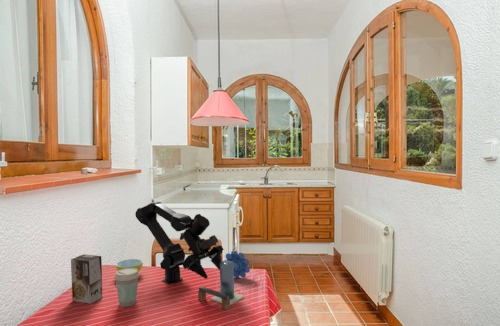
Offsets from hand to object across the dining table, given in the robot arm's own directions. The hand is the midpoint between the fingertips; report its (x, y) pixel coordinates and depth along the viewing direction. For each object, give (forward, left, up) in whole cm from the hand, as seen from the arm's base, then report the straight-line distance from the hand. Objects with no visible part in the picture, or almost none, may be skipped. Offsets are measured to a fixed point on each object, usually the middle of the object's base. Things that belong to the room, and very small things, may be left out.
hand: (214, 274), depth 128 cm
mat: (+6, 0, -8) cm, 10 cm away
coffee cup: (-21, -25, -8) cm, 33 cm away
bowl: (-45, -9, -8) cm, 46 cm away
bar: (+5, -6, -4) cm, 9 cm away
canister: (+6, 0, -7) cm, 10 cm away
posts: (+5, -6, -8) cm, 11 cm away
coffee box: (-37, -32, -8) cm, 49 cm away
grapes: (-4, +18, -8) cm, 20 cm away
